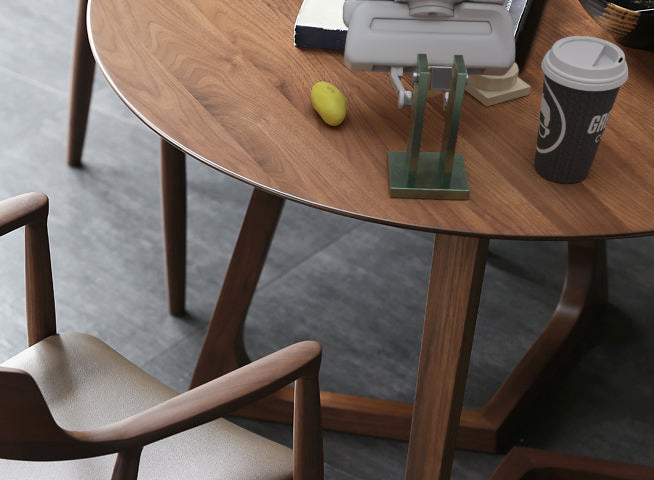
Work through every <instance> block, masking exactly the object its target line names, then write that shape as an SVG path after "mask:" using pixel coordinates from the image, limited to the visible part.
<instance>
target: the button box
mask: <svg viewBox="0 0 654 480" xmlns="http://www.w3.org/2000/svg"><path fill="white" fill-rule="evenodd" d="M519 71H520V69H519V66H518V64H517V62H516V61H514V64H513V66H512V68H511V69H510V70H509V71H508V72H507V73H506V74H505V75H503V76H493V75H468V84H467V86H465V90H464V91H465V92H467V94H470V96H471V97H473V98H475V99H476V100H477V101H478V102H480V103H481V104H482V105H483V106H484V107H489V106H492V105H493V106H494V105H496V104H501V103H504V102H507V101H511V100H515V99H519V98H523V97H526V96H529V95H530V94H531V93H530V92H531V88H532V86H531V85H529V84H528V83H527V82H525V81H524V80H522V79H521V78H520V77H519Z"/></svg>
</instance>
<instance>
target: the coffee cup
mask: <svg viewBox="0 0 654 480" xmlns="http://www.w3.org/2000/svg"><path fill="white" fill-rule="evenodd" d="M540 67H541V70H542V72H543V81H542V82H543V83H542V92H541V100H540V101H541V102H540V110H539V119H538V127H537V137H536V145H535V155H534V163H533V167H534V170H535V171H536V173H537V174H538V175H539V176H540V177H542V178H544V179H545V180H548V181H550V182H554V183H558V184H567V185H568V184H575V183H576V184H577V183H579V182H582V181H584V180H586V178H588V176H589V174H590V171H591V168H592V166H593V163H594V161H595V157H596V155H597V152H598V149H599V146H600V143H601V140H602V139H603V135H604V132H605V130H606V127H607V124H608V121H609V119H610V116H611V113H612V110H613V107H614V105H615V102H616V100H617V98H618V97H617V96H618V94H619V91H620V89H621V86H622V85H624V84H625V83H626V82H627V81H628V79H629V68H628V63H627V61H626V56H625V52H624V51H623V50H622V48H620V47H619V46H618V45H616V44H615V43H613V42H611V41H608V40H605V39H603V38H598V37H594V36H589V35H588V36H586V35H573V36H572V35H571V36H566V37H563V38H560V39H558V40H557V41H555V42H554V44H552V47H551V48H550V49H549V50H548V51H547V52H546V53H545V55H544V56H543V58H542V60H541V63H540Z"/></svg>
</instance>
